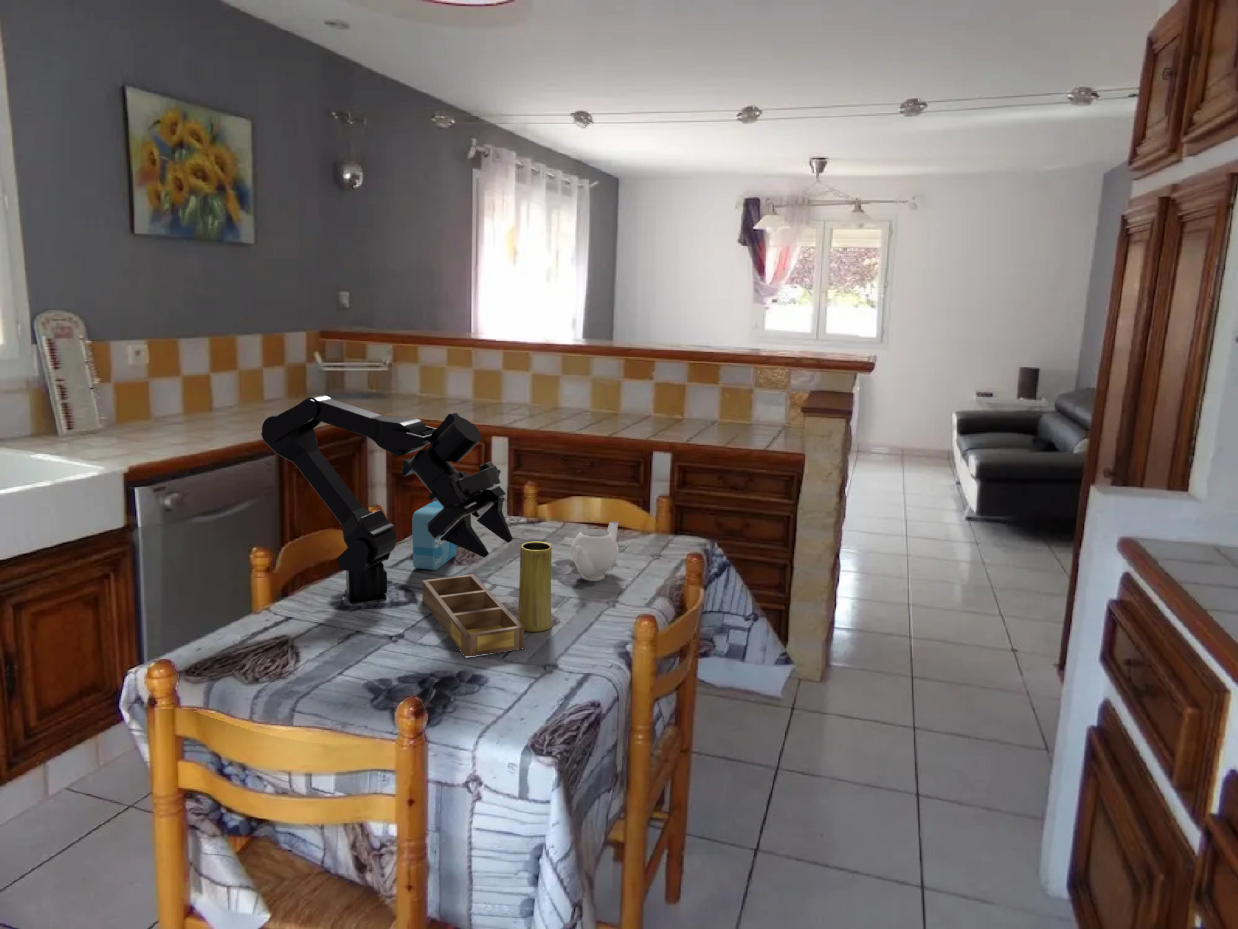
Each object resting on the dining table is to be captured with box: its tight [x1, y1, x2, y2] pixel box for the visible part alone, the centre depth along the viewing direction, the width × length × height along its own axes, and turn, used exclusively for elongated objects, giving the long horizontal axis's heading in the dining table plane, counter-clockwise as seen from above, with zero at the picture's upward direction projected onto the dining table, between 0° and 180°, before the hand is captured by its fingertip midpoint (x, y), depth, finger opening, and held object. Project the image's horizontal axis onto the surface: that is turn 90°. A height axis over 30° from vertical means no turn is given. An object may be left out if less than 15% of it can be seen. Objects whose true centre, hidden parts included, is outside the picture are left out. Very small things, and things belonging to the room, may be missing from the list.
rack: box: [421, 573, 525, 657], centre depth 148 cm, size 10×27×4 cm, turn 27°
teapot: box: [570, 521, 620, 582], centre depth 173 cm, size 10×20×9 cm, turn 156°
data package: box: [411, 500, 458, 571], centre depth 178 cm, size 12×4×12 cm, turn 167°
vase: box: [517, 541, 554, 633], centre depth 147 cm, size 6×6×14 cm
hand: (499, 548), depth 148 cm, fingers open, 9 cm apart
